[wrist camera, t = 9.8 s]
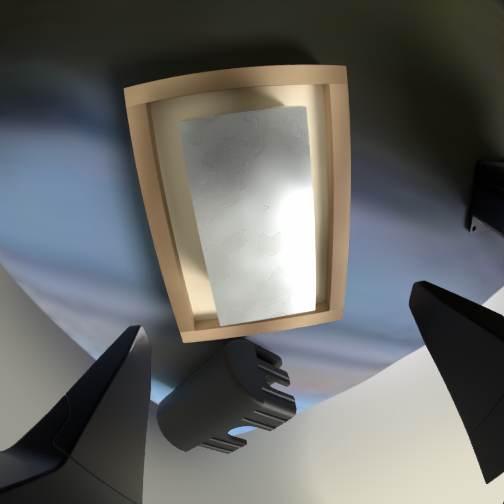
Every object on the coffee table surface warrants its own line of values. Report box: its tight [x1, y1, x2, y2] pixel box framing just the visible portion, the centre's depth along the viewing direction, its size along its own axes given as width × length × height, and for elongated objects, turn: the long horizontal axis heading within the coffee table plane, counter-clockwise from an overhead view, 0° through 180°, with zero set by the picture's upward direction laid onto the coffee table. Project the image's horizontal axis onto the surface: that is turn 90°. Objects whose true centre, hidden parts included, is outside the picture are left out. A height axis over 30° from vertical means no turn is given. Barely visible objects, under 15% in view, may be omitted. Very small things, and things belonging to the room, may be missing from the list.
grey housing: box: [178, 105, 315, 326], centre depth 15 cm, size 10×5×4 cm, turn 7°
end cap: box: [157, 339, 296, 454], centre depth 23 cm, size 10×7×7 cm
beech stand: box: [124, 65, 351, 343], centre depth 17 cm, size 11×16×3 cm
